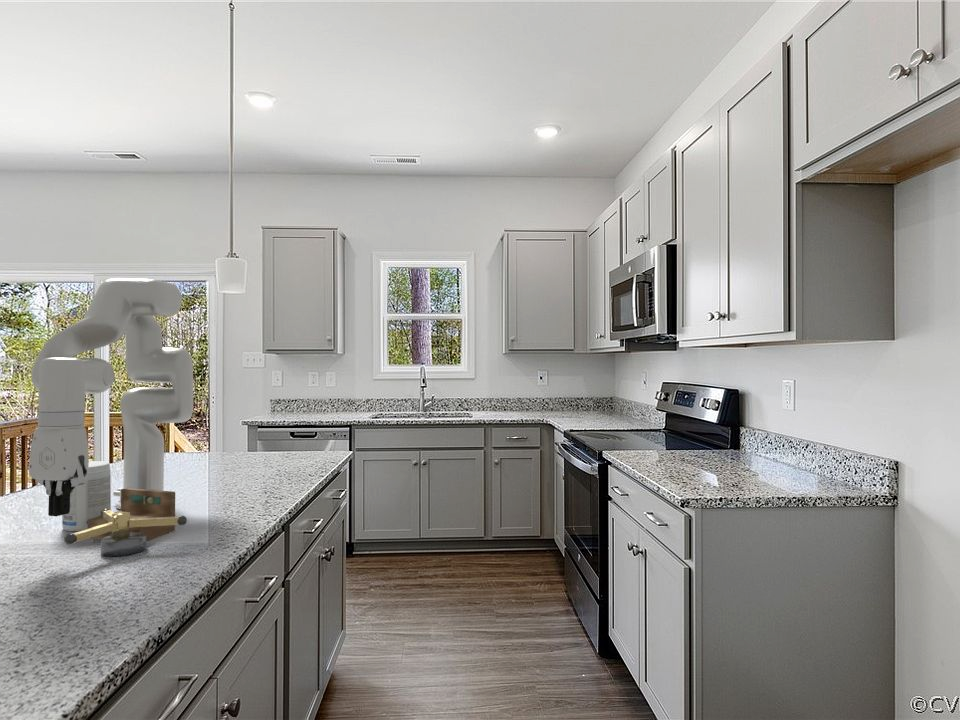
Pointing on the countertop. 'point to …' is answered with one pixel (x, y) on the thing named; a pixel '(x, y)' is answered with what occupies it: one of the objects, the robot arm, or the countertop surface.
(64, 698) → the countertop surface
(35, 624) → the countertop surface
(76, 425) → the robot arm
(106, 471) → the supplement tub
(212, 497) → the countertop surface
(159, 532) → the level stand
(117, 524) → the tan branched rod piece
